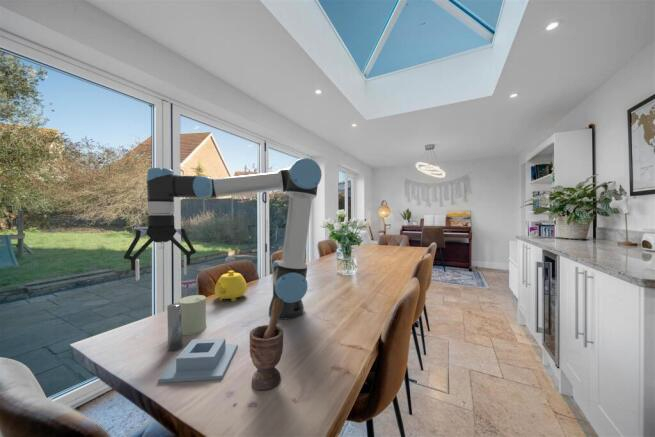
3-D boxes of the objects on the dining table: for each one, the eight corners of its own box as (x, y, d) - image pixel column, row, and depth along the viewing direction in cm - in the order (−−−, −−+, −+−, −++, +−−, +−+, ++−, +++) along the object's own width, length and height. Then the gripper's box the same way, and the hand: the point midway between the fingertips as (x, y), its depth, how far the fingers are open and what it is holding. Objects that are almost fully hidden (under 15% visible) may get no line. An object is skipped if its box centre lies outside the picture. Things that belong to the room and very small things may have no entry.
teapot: (232, 307, 116) (232, 278, 115) (202, 305, 118) (201, 276, 118) (252, 293, 135) (252, 268, 135) (226, 291, 138) (225, 267, 138)
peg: (184, 344, 84) (184, 302, 83) (178, 351, 80) (178, 307, 79) (172, 344, 83) (171, 303, 83) (165, 351, 79) (164, 307, 79)
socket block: (237, 346, 83) (237, 333, 82) (222, 379, 67) (221, 362, 66) (186, 349, 81) (186, 335, 81) (158, 382, 65) (157, 365, 65)
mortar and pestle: (257, 363, 73) (257, 296, 73) (287, 363, 74) (287, 296, 73) (245, 392, 62) (244, 312, 61) (280, 392, 62) (280, 312, 61)
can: (194, 336, 89) (194, 303, 89) (172, 333, 91) (172, 301, 91) (211, 324, 98) (211, 294, 98) (191, 322, 100) (190, 292, 100)
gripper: (201, 214, 95) (202, 270, 96) (115, 214, 82) (117, 279, 82) (203, 214, 89) (204, 274, 89) (111, 215, 75) (112, 285, 76)
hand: (162, 276), depth 86 cm, fingers open, 13 cm apart
